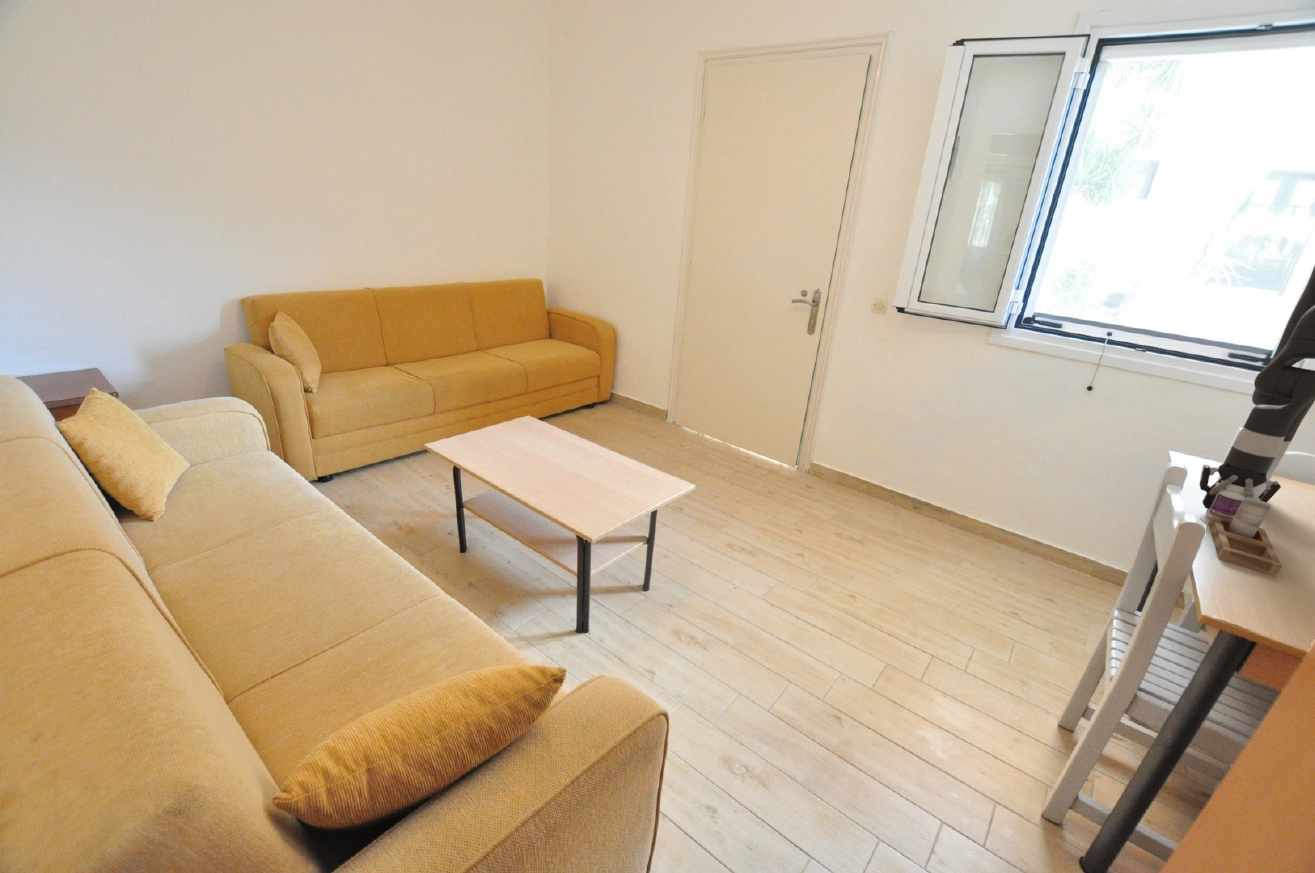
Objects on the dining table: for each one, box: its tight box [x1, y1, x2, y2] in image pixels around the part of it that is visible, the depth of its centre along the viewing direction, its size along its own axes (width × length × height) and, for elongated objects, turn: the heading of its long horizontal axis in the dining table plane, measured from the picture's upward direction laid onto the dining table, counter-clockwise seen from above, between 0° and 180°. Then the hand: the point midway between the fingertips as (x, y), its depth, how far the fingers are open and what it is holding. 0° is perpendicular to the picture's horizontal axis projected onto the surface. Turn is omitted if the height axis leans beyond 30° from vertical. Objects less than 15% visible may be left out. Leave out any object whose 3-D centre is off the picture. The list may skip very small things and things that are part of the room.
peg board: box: [1207, 497, 1283, 577], centre depth 125 cm, size 20×9×10 cm, turn 142°
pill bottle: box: [1205, 484, 1246, 520], centre depth 138 cm, size 5×5×10 cm
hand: (1222, 511), depth 139 cm, fingers closed on pill bottle, 5 cm apart
